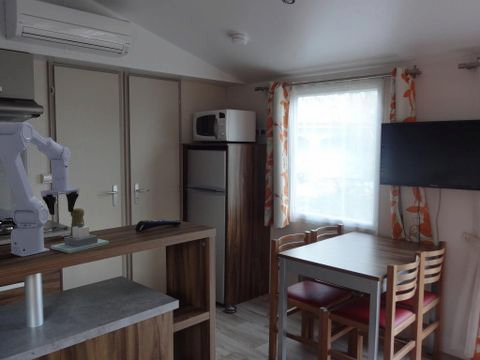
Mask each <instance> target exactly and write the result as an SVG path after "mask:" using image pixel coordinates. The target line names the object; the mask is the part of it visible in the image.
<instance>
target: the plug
mask: <svg viewBox="0 0 480 360" xmlns="http://www.w3.org/2000/svg"><path fill="white" fill-rule="evenodd" d="M84 225H85V222H84V223H83V222H80V223H78V226H77V227H72V231H73V238H75V239H82V238H87V237H89V234H90V226H88V225H87V226H86V225H85V226H84Z"/></svg>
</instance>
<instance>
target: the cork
mask: <svg viewBox="0 0 480 360" xmlns="http://www.w3.org/2000/svg"><path fill="white" fill-rule="evenodd" d="M69 213H70V214H69V215H70V216H71V224H70V233H69V234H70V235H69V236H73V231H72V227H77V226H78V223H80V222H83V223H84V226H86V225H85V220H84V216H85V210H84V209H83V208H78V207H77V208H74V209H73V212H69Z"/></svg>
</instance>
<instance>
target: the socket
mask: <svg viewBox="0 0 480 360" xmlns="http://www.w3.org/2000/svg"><path fill="white" fill-rule="evenodd" d="M98 237H99V236H98V235H96V234H95V235H94V234H90V233H89V237H87V238H82V239H75V238H73V236H70V235H69V236H65V237H64V242H63V243H59V244H53V245H50V249H51V250H54V251H59V252H63V253H67V254H71V253H75V252H76V253H77V252H80V251H84V250H88V249H93V248H96V247H99V246H100V247H101V246H106V245H108V244H109V243H110V241H109V240H106V239H101V238H98Z"/></svg>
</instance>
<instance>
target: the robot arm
mask: <svg viewBox="0 0 480 360" xmlns="http://www.w3.org/2000/svg"><path fill="white" fill-rule="evenodd" d="M30 143H31V144H32V145H35V146H36V148H37V150H38V152H41V153H42V154H43V155H45V156H46V157H47V159H48V160H49V161H50V165H51V166H50V167H51V188H52V189H47V190H40V196H41V199H42V200H43V201H44V202H43V201H42V200H40V199H38V198H37V197H35V195H34V192H33V189H32V186H31V183H30V181H29V177H28V175H27V172H26V169H25V166H24V162H23V159H22V157H21V153H22V152H24V151H25V150H26V148H27V147H28V145H29V144H30ZM71 155H72V153H71V151H70V149H69V148H68V147H67V146H65V145H64V146H63V145H61V144H60V143H58V142H56V141H55V140H53V138H52V137H50V136H46V137H43V136H42V135H40V133H38V132H37V131H36V130H35V129H34V126H33V125H31V124H30V123H29V122H27V121H25V122H24V121H23V122H0V161H1V163H2V167H3V169H4V172H5V174H6V178H7V179H8V182H9V185H10V188H11V190H12V194H13V195H14V199H15V202H14V203H13V205H12V206H11V208H10V209H11V211H12V212H11V213H12V221H13V223H14V224H16V227H17V228H14V229H12V230H11V231H10V249H11V251H10V254H11V253H12V255H15V256H19V257H27V256H30V255H31V256H32V255H35V254H36V255H37V254H39V253H44V252H49V251H50V249H51V248H46V247H45V238H44V226H45V225H46V223H47V221H48V220H49V215H51V216H54V215H55V210H56V209H55V208H56V207H55V206H56V205H55V203H56V199H57V197H56V196H57V195H58V196H59V195H65V196H66V197H65V198H66V201H67V212H68V213H70V212H73V209H75V204H76V202H77V200H78V198H79V195H80V194H79V193H80V188H79V187H69V185H70V184H69V166H70V160H71V157H72V156H71ZM44 203H45V205H46V207H45V205H44Z"/></svg>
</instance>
